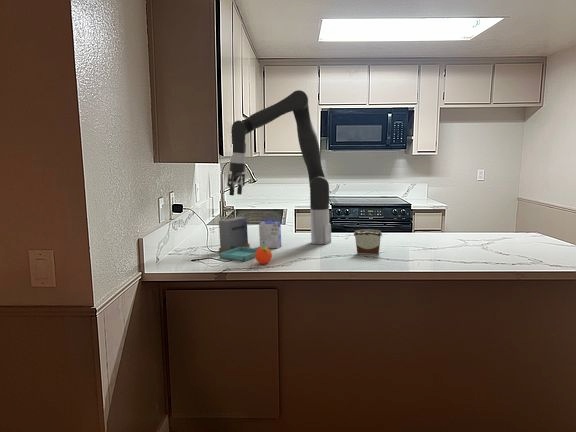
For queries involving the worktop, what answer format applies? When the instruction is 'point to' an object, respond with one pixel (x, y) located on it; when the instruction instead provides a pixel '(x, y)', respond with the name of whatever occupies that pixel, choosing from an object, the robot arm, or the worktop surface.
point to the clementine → (263, 255)
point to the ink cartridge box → (270, 233)
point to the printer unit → (233, 233)
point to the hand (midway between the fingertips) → (235, 194)
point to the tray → (239, 254)
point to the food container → (368, 241)
